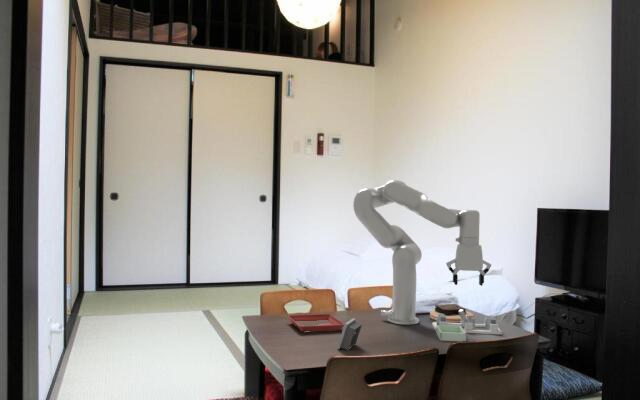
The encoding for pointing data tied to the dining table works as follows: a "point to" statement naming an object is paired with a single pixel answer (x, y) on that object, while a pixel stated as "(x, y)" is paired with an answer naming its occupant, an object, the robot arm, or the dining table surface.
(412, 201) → the robot arm
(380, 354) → the dining table surface
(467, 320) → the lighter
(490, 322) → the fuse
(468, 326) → the fuse panel
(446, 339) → the tray
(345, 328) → the electrical switch
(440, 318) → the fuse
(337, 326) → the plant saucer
